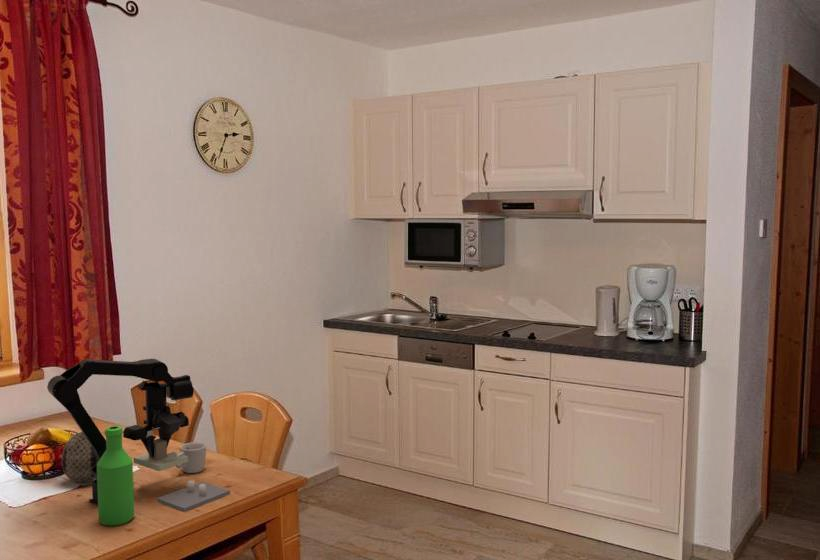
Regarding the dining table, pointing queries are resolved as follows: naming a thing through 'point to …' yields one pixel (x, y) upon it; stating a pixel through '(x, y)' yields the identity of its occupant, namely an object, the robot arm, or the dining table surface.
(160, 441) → the two-prong bracket
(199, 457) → the cup
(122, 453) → the bottle
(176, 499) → the slate board
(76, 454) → the decorative egg
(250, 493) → the dining table surface
